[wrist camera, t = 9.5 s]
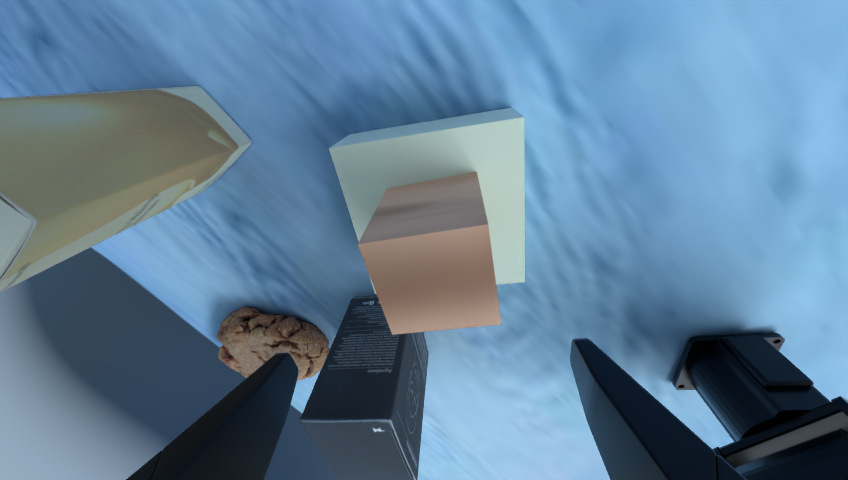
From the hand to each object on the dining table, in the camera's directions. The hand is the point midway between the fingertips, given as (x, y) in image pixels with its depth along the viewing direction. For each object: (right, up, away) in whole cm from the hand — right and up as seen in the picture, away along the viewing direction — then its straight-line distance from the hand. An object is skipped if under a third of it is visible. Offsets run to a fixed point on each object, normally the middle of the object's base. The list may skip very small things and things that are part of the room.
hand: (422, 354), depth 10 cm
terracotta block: (+1, +5, +8) cm, 9 cm away
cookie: (-14, -6, +21) cm, 26 cm away
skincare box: (-15, +10, +11) cm, 21 cm away
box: (-3, -4, +18) cm, 19 cm away
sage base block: (+1, +7, +11) cm, 13 cm away
